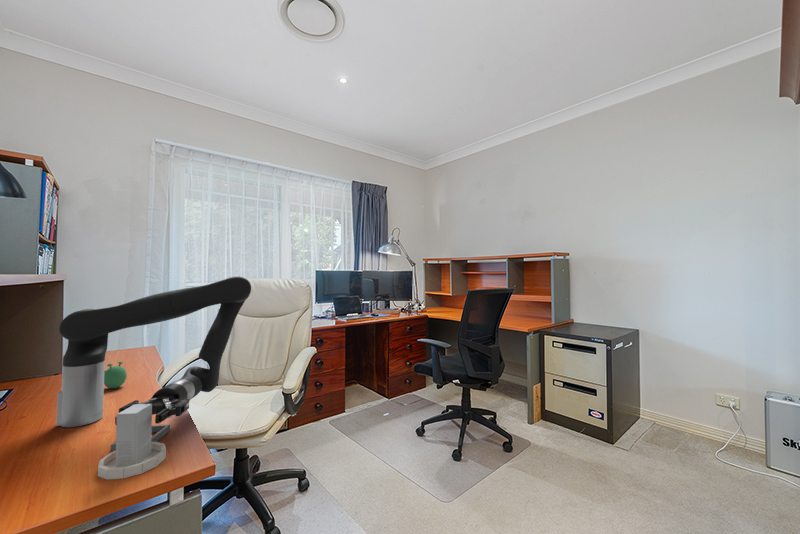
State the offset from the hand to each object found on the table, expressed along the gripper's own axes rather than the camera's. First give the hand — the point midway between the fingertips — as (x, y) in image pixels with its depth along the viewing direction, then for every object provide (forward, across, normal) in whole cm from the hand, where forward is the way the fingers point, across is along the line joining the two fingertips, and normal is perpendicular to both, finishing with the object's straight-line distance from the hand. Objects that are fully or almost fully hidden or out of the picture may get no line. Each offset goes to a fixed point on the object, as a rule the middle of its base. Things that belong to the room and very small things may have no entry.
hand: (137, 420), depth 78 cm
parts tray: (-11, -5, +9) cm, 15 cm away
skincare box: (+1, 0, +9) cm, 9 cm away
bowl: (+1, 0, +9) cm, 9 cm away
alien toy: (-58, -42, +10) cm, 72 cm away
